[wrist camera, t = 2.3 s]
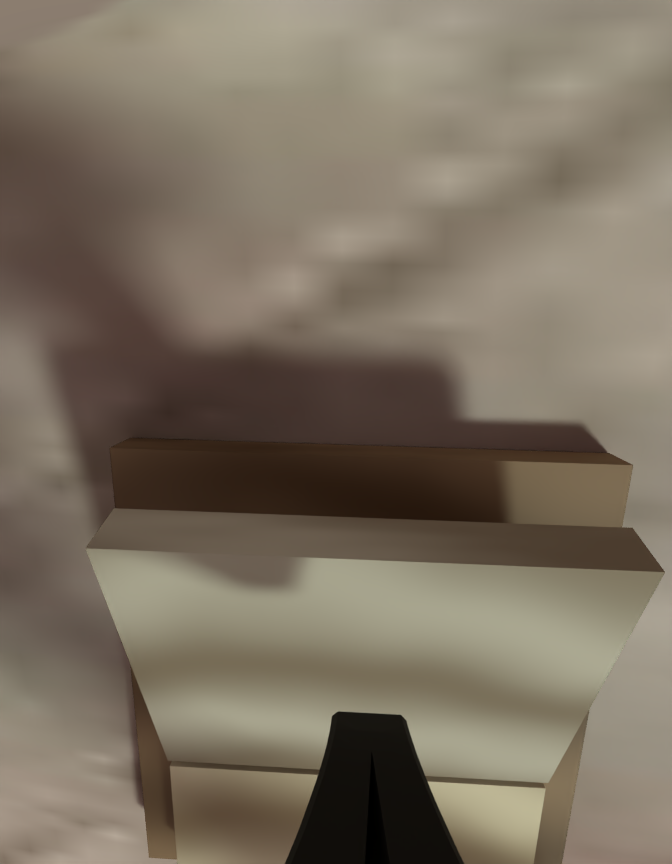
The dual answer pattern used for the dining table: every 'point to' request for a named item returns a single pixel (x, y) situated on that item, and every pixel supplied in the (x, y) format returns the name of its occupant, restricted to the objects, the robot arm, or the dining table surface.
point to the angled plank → (370, 632)
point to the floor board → (363, 498)
